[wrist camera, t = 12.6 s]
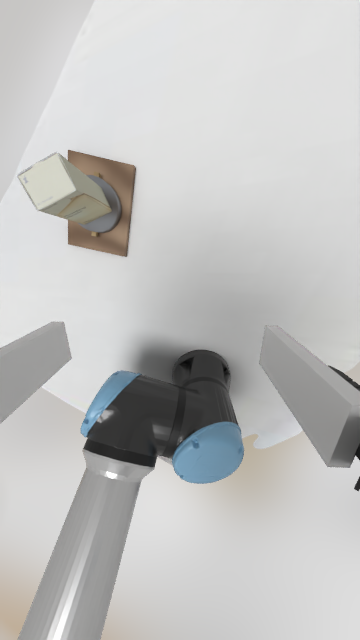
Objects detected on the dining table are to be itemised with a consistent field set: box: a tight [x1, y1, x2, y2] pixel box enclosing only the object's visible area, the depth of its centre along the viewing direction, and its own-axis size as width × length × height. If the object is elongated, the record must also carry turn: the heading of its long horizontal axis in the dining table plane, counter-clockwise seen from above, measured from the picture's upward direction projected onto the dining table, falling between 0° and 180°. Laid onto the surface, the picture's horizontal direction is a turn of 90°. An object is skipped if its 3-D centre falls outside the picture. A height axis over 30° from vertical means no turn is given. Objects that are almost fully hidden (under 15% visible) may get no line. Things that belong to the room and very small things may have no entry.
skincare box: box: [17, 152, 112, 225], centre depth 29 cm, size 6×4×12 cm
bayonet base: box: [68, 150, 136, 257], centre depth 36 cm, size 16×12×4 cm
